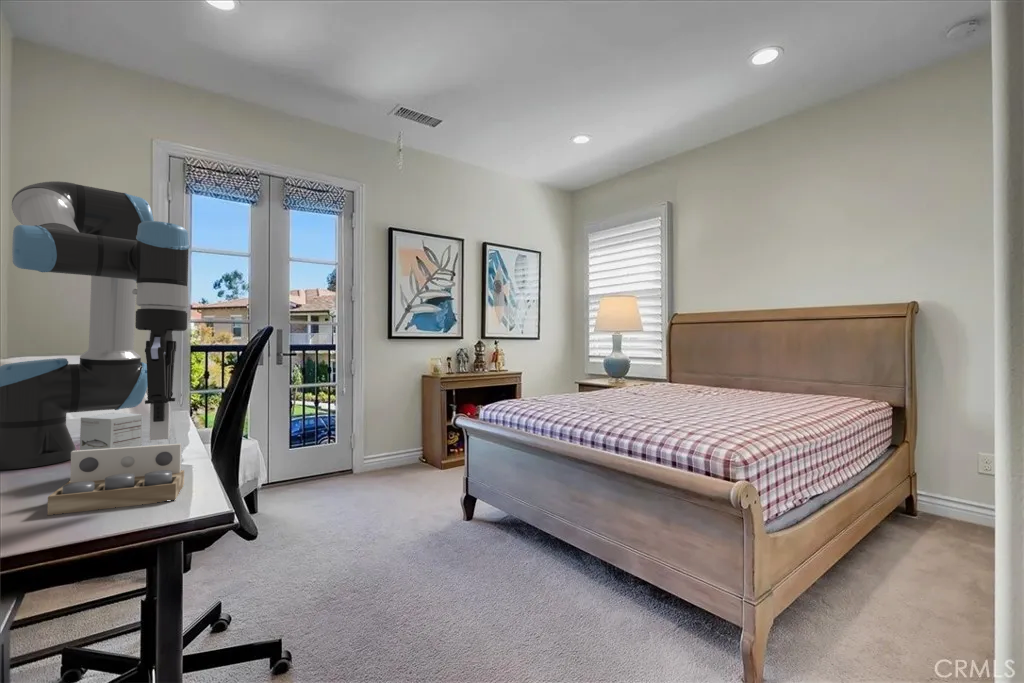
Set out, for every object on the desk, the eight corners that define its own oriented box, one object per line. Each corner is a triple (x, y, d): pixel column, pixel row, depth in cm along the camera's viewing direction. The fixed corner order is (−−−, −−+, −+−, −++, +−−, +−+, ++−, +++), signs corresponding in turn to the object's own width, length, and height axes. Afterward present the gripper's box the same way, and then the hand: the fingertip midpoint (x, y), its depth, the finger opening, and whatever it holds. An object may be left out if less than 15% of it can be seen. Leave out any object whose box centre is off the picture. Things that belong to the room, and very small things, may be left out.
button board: (70, 496, 85) (70, 480, 85) (184, 485, 93) (184, 469, 93) (47, 515, 76) (47, 496, 76) (175, 500, 84) (175, 484, 84)
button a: (67, 497, 81) (67, 482, 81) (97, 494, 83) (97, 480, 83) (58, 504, 77) (58, 489, 77) (89, 501, 79) (90, 486, 79)
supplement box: (77, 479, 95) (78, 417, 95) (113, 469, 102) (114, 411, 102) (108, 481, 94) (110, 418, 94) (142, 471, 101) (144, 413, 101)
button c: (147, 485, 86) (147, 471, 86) (173, 482, 88) (173, 469, 88) (141, 491, 82) (142, 477, 82) (169, 488, 84) (170, 474, 84)
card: (72, 481, 84) (73, 450, 84) (180, 471, 91) (181, 443, 91) (69, 483, 83) (70, 452, 83) (179, 473, 90) (180, 444, 90)
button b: (108, 489, 83) (108, 474, 83) (136, 486, 85) (137, 472, 85) (101, 495, 80) (101, 481, 80) (131, 492, 82) (131, 478, 82)
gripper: (144, 310, 89) (142, 434, 89) (126, 305, 77) (123, 447, 77) (192, 312, 93) (190, 431, 92) (181, 307, 81) (179, 443, 81)
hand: (159, 438), depth 85 cm, fingers closed
